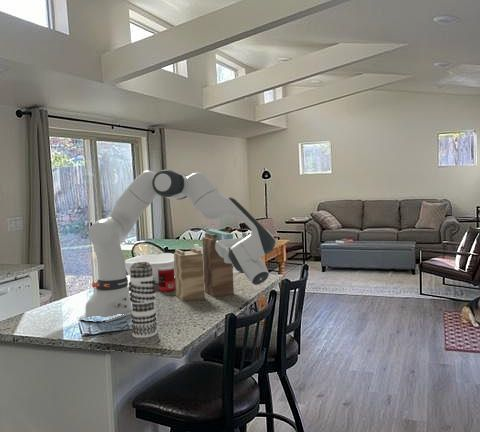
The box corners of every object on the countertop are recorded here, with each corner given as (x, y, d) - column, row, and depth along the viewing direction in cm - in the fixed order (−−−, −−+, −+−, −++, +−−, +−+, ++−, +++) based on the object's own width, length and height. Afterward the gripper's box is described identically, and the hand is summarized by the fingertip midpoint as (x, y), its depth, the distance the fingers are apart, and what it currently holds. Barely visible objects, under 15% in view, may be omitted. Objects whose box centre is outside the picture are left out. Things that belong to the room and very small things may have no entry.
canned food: (176, 288, 250) (175, 266, 249) (172, 291, 242) (171, 269, 241) (161, 288, 251) (160, 266, 250) (157, 292, 243) (156, 269, 242)
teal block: (233, 240, 220) (232, 233, 220) (225, 241, 218) (225, 234, 218) (213, 235, 244) (212, 229, 244) (206, 235, 242) (205, 229, 242)
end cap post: (233, 294, 232) (231, 233, 230) (213, 296, 228) (210, 235, 226) (224, 289, 243) (222, 231, 241) (204, 291, 239) (202, 233, 237)
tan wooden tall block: (204, 298, 227) (202, 250, 225) (183, 300, 223) (180, 252, 221) (196, 292, 238) (194, 247, 236) (175, 295, 234) (173, 249, 232)
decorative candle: (160, 329, 181) (156, 260, 179) (154, 337, 172) (151, 265, 170) (135, 330, 181) (131, 261, 179) (128, 338, 172) (124, 265, 170)
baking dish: (146, 274, 290) (145, 252, 290) (192, 275, 282) (191, 253, 281) (114, 287, 258) (113, 262, 257) (165, 288, 249) (164, 263, 249)
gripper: (270, 245, 205) (256, 226, 216) (223, 250, 198) (211, 231, 208) (267, 257, 209) (254, 238, 219) (221, 263, 201) (210, 243, 212)
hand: (233, 234), depth 214 cm, fingers open, 8 cm apart
